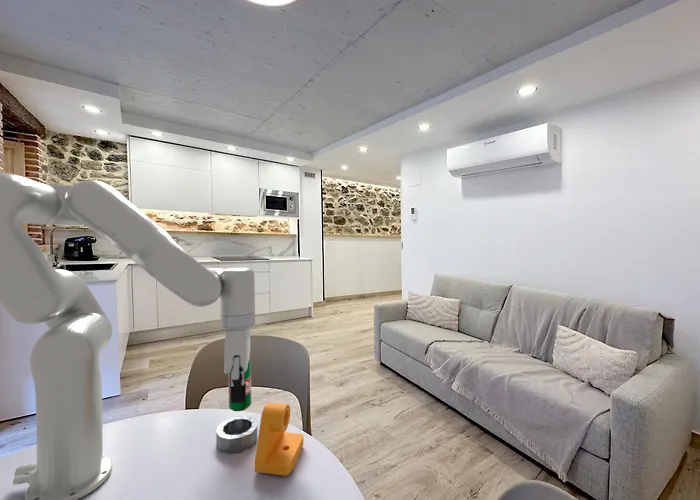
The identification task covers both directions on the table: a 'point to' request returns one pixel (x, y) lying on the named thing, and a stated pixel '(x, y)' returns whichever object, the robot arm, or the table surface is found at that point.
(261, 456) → the bracket
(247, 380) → the soda can
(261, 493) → the table surface
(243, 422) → the rosette ring
